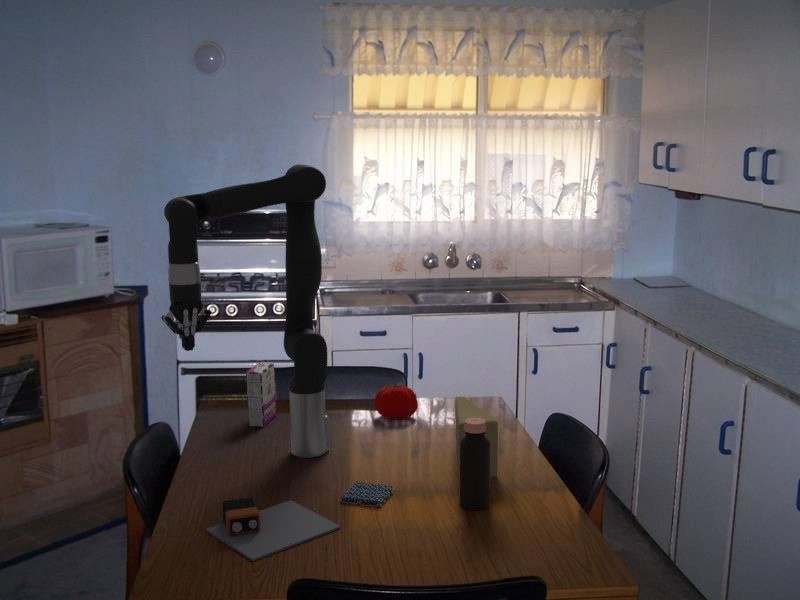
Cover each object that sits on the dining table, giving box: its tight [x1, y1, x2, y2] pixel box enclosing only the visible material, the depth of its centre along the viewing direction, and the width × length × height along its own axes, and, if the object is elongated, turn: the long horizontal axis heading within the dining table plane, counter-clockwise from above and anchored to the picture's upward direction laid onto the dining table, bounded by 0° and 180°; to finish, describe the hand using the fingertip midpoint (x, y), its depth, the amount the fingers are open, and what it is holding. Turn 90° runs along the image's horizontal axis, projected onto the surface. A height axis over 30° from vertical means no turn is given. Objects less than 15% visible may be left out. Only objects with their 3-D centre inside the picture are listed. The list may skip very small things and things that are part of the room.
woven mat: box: [339, 480, 394, 508], centre depth 211 cm, size 10×11×2 cm
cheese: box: [454, 396, 499, 479], centre depth 229 cm, size 22×10×15 cm, turn 9°
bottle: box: [459, 417, 491, 511], centre depth 204 cm, size 7×7×20 cm
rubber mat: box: [205, 499, 341, 562], centre depth 194 cm, size 22×18×1 cm
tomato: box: [373, 383, 419, 420], centre depth 266 cm, size 11×13×10 cm
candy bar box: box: [245, 361, 278, 428], centre depth 263 cm, size 11×5×16 cm, turn 168°
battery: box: [221, 497, 260, 536], centre depth 194 cm, size 4×7×10 cm
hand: (188, 349), depth 223 cm, fingers closed
